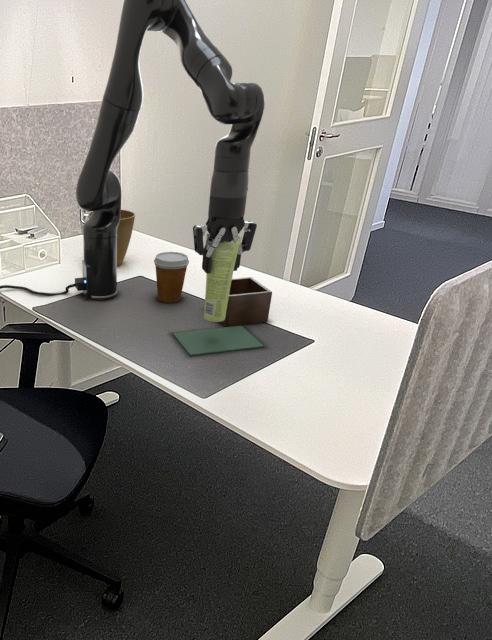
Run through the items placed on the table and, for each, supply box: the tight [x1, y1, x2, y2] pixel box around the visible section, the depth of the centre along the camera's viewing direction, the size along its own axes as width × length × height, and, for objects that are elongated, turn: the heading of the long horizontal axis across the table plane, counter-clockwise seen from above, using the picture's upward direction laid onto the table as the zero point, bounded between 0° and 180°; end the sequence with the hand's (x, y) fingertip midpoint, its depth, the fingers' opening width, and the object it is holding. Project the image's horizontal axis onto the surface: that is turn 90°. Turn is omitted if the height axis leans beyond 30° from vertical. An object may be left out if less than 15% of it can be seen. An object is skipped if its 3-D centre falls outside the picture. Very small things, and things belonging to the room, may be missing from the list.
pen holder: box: [220, 276, 273, 327], centre depth 147 cm, size 12×12×8 cm
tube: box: [203, 233, 243, 323], centre depth 128 cm, size 6×5×20 cm
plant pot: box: [87, 209, 136, 267], centre depth 184 cm, size 15×15×16 cm
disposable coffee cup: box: [153, 251, 190, 303], centre depth 157 cm, size 10×10×12 cm
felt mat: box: [172, 325, 264, 357], centre depth 136 cm, size 18×12×1 cm, turn 102°
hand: (220, 270), depth 127 cm, fingers closed on tube, 5 cm apart
